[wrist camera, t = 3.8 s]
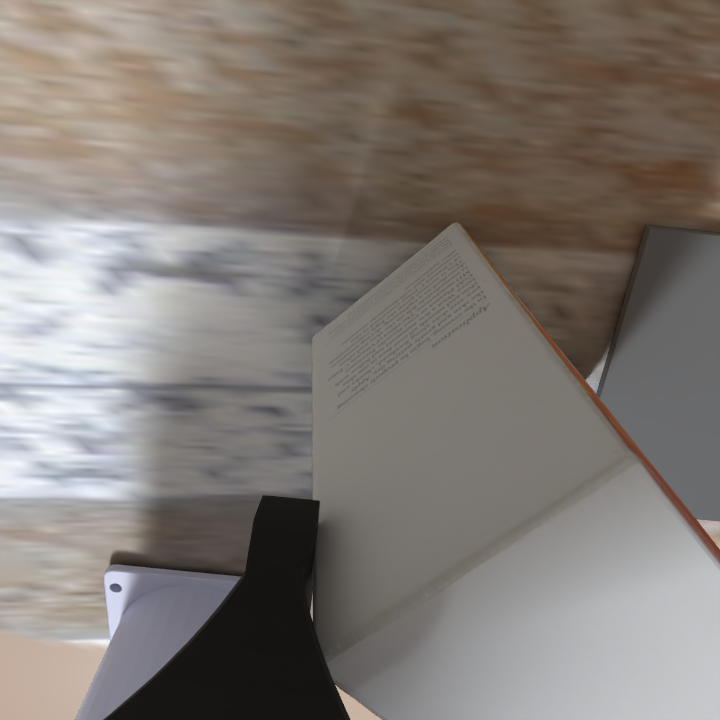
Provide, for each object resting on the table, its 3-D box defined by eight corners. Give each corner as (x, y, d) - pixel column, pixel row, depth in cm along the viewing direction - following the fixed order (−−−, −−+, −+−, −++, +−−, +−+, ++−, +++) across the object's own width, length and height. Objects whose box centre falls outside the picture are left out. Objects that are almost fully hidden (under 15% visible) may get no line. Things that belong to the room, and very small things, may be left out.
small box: (587, 379, 24) (854, 722, 12) (447, 476, 25) (563, 861, 14) (456, 210, 20) (645, 456, 9) (305, 334, 22) (299, 677, 10)
